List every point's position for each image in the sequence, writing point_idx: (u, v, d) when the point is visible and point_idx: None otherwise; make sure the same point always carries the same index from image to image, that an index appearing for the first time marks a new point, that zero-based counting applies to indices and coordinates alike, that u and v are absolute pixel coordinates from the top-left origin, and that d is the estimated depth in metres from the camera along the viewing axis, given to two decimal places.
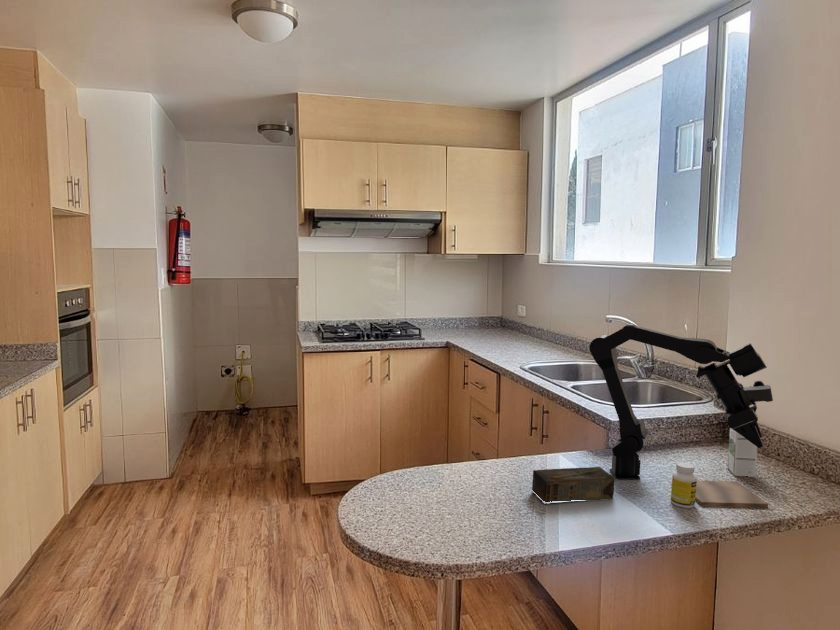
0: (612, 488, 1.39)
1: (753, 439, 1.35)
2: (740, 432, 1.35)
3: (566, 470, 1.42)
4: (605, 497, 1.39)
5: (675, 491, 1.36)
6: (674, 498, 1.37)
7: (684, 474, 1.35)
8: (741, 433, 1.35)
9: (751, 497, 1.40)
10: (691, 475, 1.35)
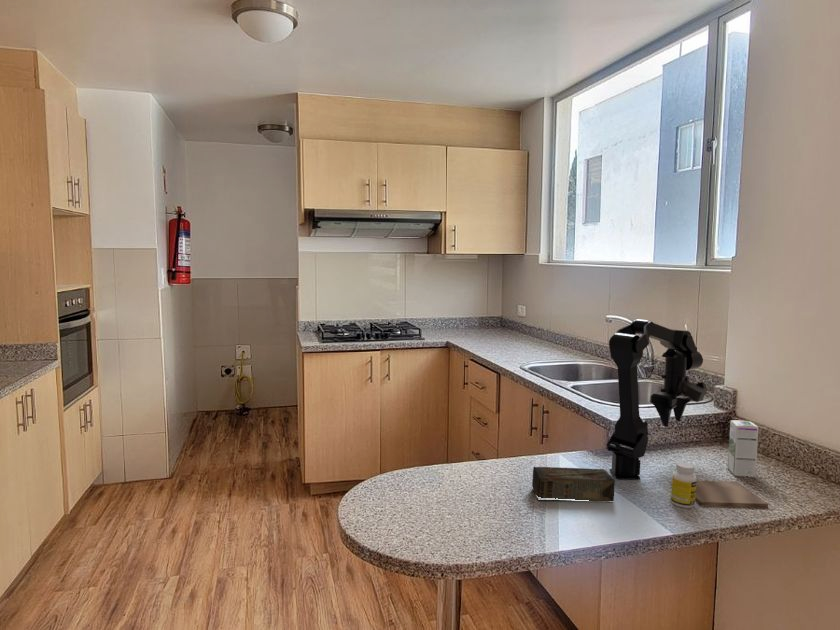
0: (612, 491, 1.37)
1: (663, 417, 1.65)
2: (657, 408, 1.65)
3: (567, 469, 1.43)
4: (604, 499, 1.38)
5: (675, 491, 1.36)
6: (674, 498, 1.37)
7: (684, 474, 1.35)
8: (657, 409, 1.65)
9: (751, 497, 1.40)
10: (691, 475, 1.35)
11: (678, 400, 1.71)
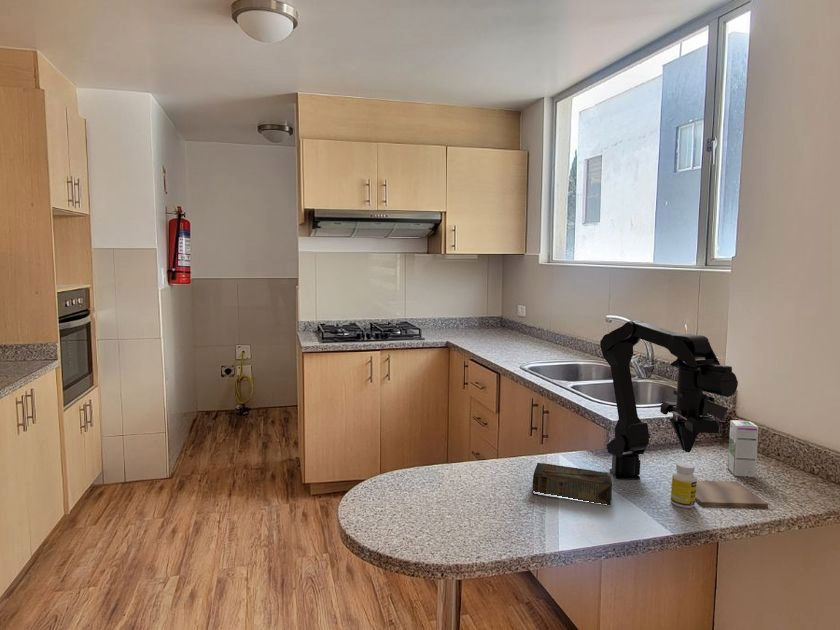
0: (609, 494, 1.35)
1: (687, 442, 1.35)
2: (683, 432, 1.34)
3: (569, 468, 1.43)
4: (601, 502, 1.36)
5: (675, 491, 1.36)
6: (674, 498, 1.37)
7: (684, 474, 1.35)
8: (683, 434, 1.34)
9: (751, 497, 1.40)
10: (691, 475, 1.35)
11: None
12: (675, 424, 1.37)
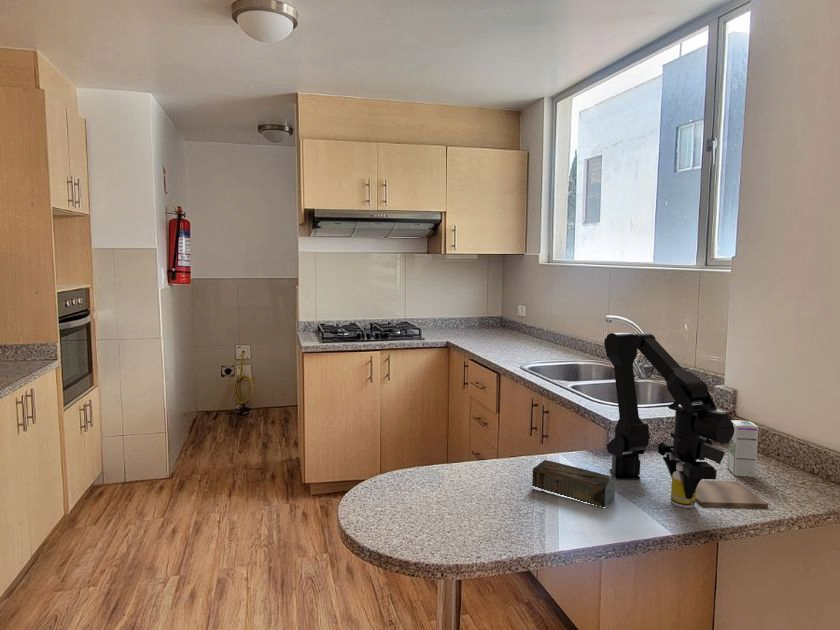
0: (602, 497, 1.34)
1: (688, 489, 1.33)
2: (685, 480, 1.32)
3: (572, 468, 1.44)
4: (595, 504, 1.35)
5: (675, 491, 1.36)
6: (674, 498, 1.37)
7: None
8: (685, 481, 1.32)
9: (751, 497, 1.40)
10: None
11: None
12: (668, 463, 1.40)
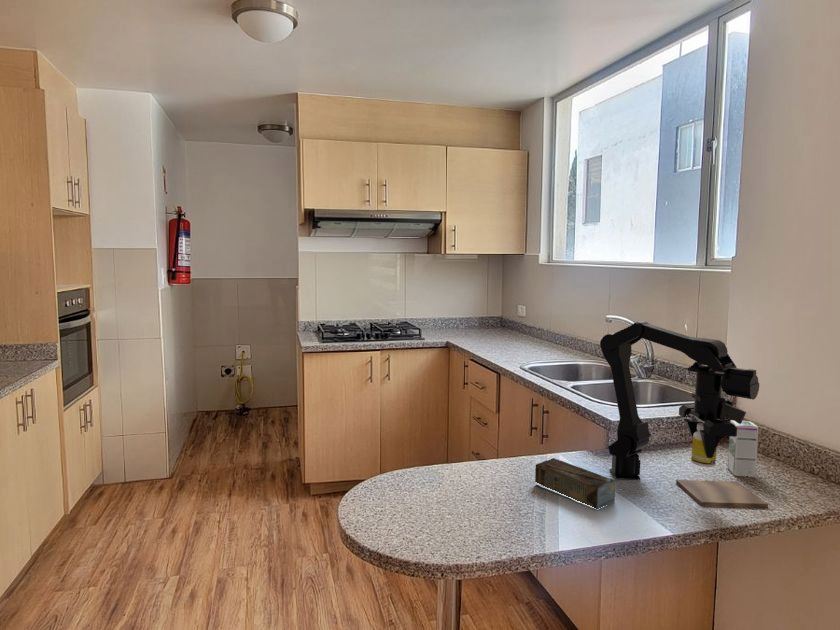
0: (595, 498, 1.33)
1: (709, 448, 1.35)
2: (705, 438, 1.34)
3: (575, 468, 1.44)
4: (589, 504, 1.35)
5: (696, 451, 1.38)
6: (694, 458, 1.38)
7: None
8: (705, 439, 1.34)
9: (751, 497, 1.40)
10: None
11: None
12: (689, 424, 1.42)
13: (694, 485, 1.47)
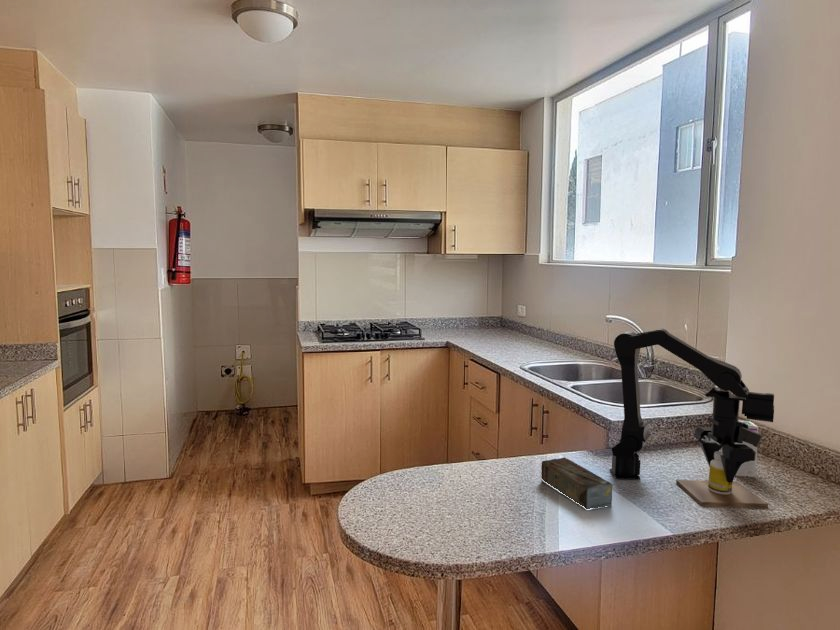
0: (584, 498, 1.33)
1: (730, 473, 1.38)
2: (726, 463, 1.37)
3: (579, 468, 1.44)
4: (580, 504, 1.35)
5: (713, 479, 1.42)
6: (712, 485, 1.42)
7: None
8: (726, 465, 1.37)
9: (751, 497, 1.40)
10: None
11: (711, 446, 1.47)
12: (703, 445, 1.47)
13: (694, 485, 1.47)
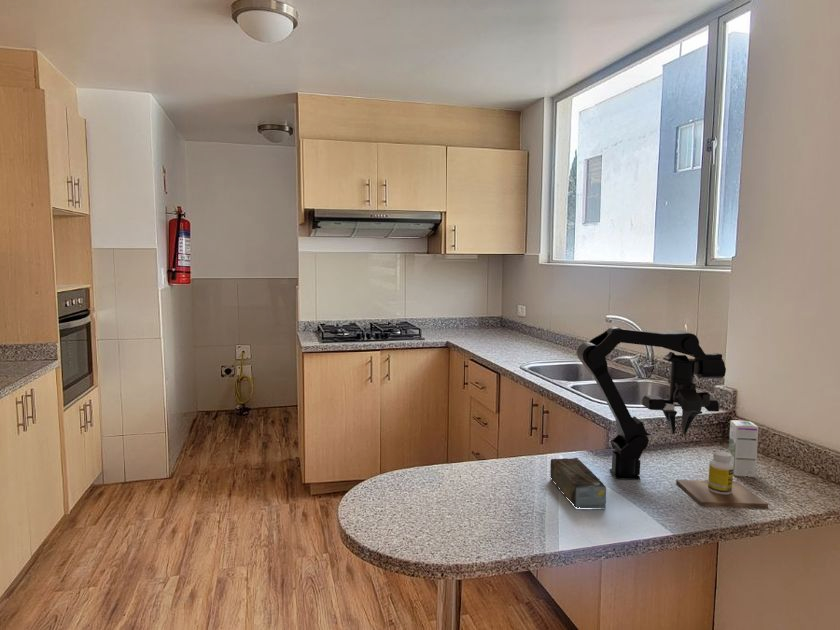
0: (574, 497, 1.33)
1: (670, 424, 1.55)
2: (664, 413, 1.56)
3: (582, 469, 1.43)
4: None
5: (713, 479, 1.42)
6: (711, 486, 1.42)
7: (722, 462, 1.41)
8: (664, 414, 1.56)
9: (751, 497, 1.40)
10: (729, 464, 1.41)
11: (685, 411, 1.54)
12: (682, 409, 1.56)
13: (694, 485, 1.47)
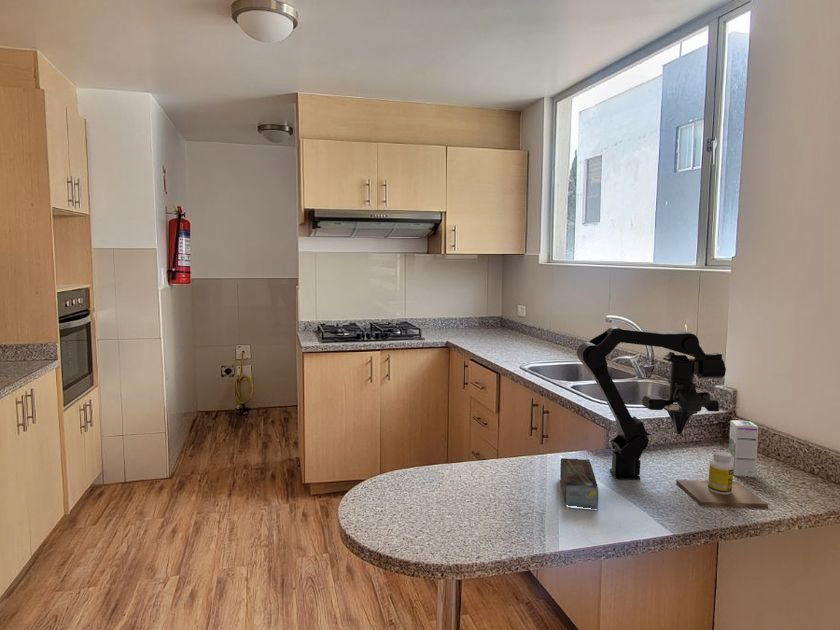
0: (564, 495, 1.35)
1: (674, 424, 1.55)
2: (669, 413, 1.56)
3: (585, 470, 1.43)
4: None
5: (713, 479, 1.42)
6: (711, 486, 1.42)
7: (722, 462, 1.41)
8: (669, 414, 1.56)
9: (751, 497, 1.40)
10: (729, 464, 1.41)
11: (681, 411, 1.54)
12: None
13: (694, 485, 1.47)
